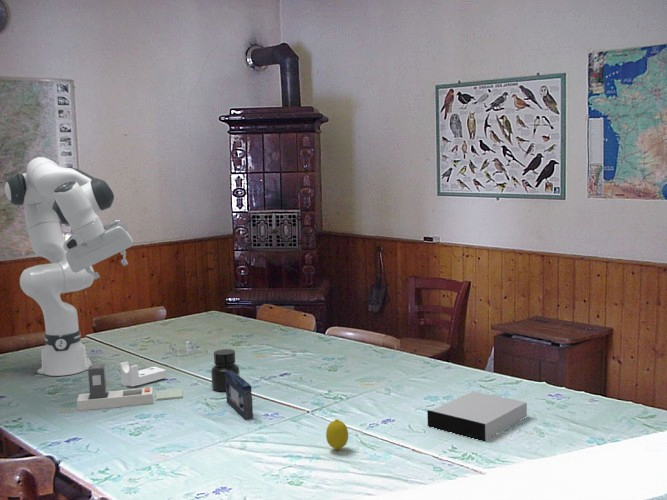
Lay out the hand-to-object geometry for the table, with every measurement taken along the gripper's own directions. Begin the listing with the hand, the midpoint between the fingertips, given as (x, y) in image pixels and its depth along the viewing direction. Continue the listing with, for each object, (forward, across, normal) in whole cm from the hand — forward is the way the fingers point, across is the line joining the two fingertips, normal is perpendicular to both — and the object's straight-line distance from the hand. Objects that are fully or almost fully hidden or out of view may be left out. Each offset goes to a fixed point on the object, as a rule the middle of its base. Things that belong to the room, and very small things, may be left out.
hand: (111, 271), depth 236 cm
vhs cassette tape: (+48, -18, +29) cm, 59 cm away
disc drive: (+70, -76, +59) cm, 119 cm away
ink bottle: (+50, -15, +6) cm, 52 cm away
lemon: (+53, -38, +67) cm, 94 cm away
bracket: (+41, +10, -9) cm, 43 cm away
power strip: (+36, +16, +11) cm, 41 cm away
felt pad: (+42, +2, +8) cm, 43 cm away
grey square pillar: (+32, +20, +11) cm, 39 cm away
